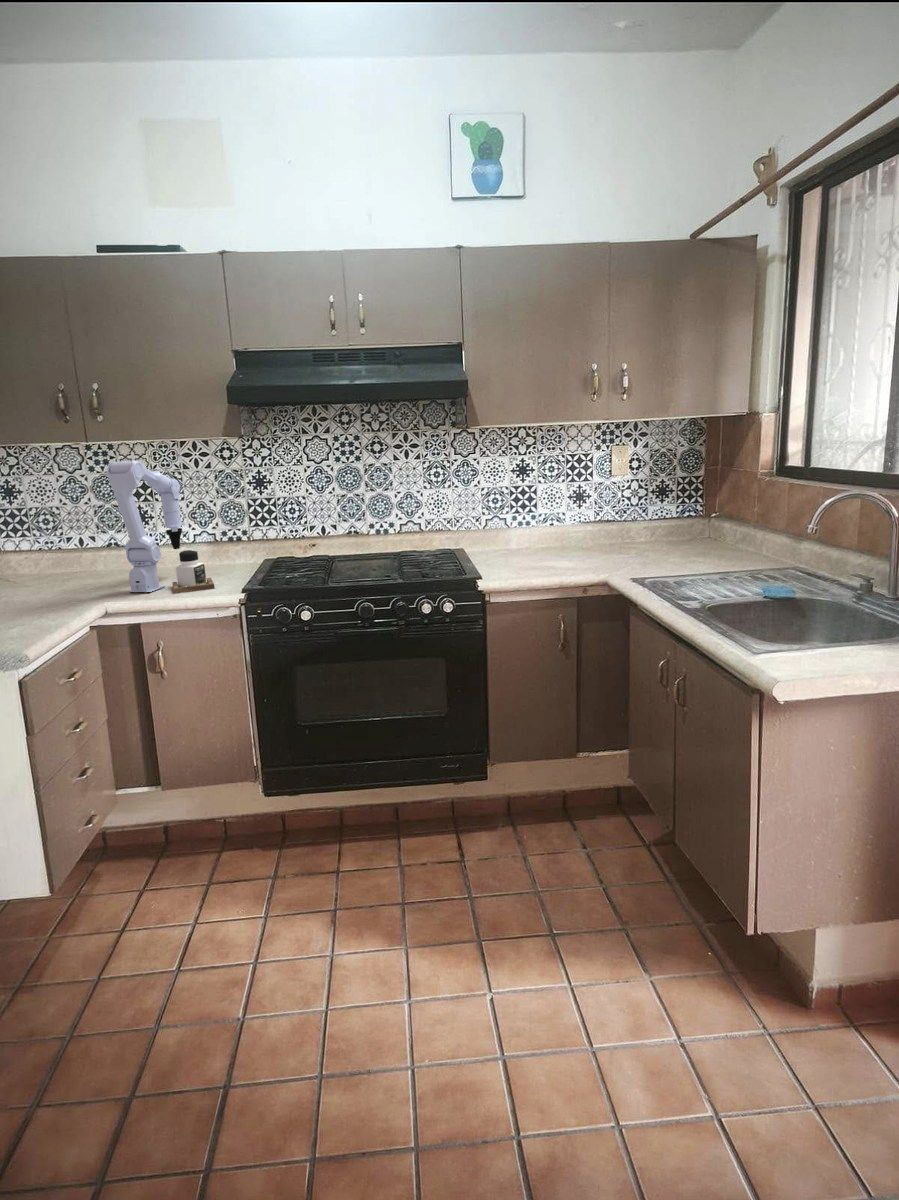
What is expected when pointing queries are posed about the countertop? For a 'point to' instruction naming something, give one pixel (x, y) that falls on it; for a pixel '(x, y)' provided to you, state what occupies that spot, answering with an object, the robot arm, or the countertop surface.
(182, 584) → the medicine bottle
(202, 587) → the walnut frame
